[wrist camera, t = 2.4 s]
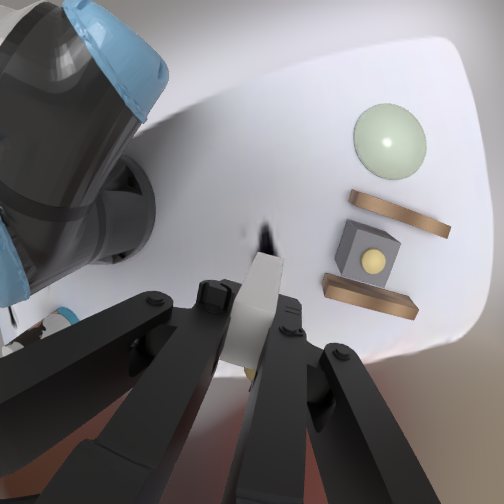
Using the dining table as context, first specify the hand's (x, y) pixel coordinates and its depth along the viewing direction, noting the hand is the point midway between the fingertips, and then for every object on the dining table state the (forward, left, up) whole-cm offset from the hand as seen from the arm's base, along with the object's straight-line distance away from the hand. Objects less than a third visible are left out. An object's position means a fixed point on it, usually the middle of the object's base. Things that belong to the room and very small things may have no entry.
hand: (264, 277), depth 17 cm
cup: (-31, -27, -19) cm, 45 cm away
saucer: (+10, +13, -19) cm, 25 cm away
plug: (+10, 0, -19) cm, 21 cm away
